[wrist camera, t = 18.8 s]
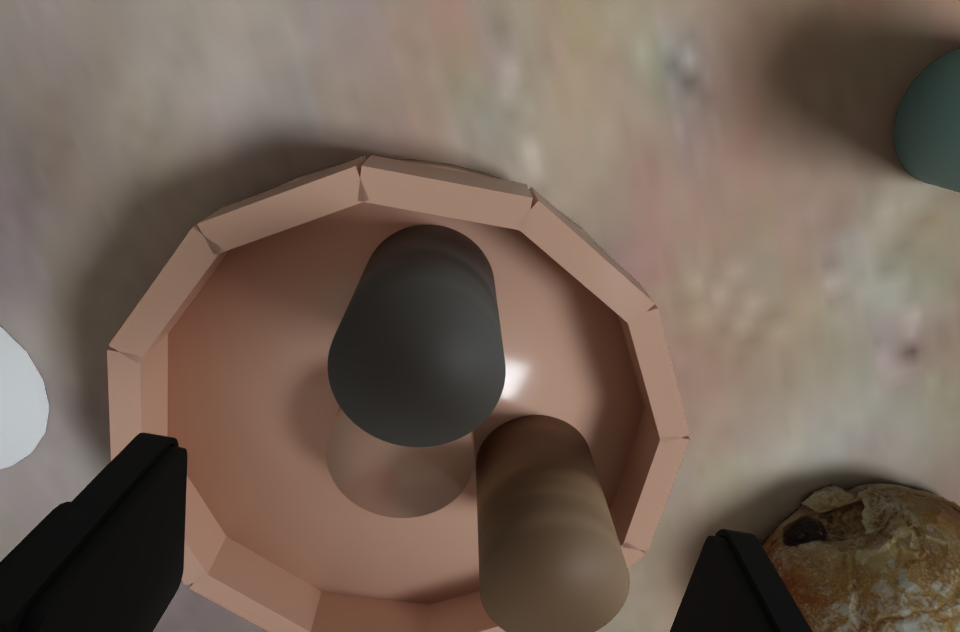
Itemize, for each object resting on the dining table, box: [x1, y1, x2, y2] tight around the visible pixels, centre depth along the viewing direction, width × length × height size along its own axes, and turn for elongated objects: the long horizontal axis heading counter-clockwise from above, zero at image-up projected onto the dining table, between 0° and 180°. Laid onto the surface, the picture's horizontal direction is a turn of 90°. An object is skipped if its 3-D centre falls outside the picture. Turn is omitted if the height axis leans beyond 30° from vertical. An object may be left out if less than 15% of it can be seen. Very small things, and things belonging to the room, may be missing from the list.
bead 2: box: [476, 415, 630, 632], centre depth 21 cm, size 4×4×6 cm
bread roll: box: [762, 483, 960, 632], centre depth 26 cm, size 10×10×8 cm
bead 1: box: [327, 224, 506, 447], centre depth 18 cm, size 4×4×6 cm
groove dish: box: [107, 155, 690, 632], centre depth 23 cm, size 19×19×3 cm
